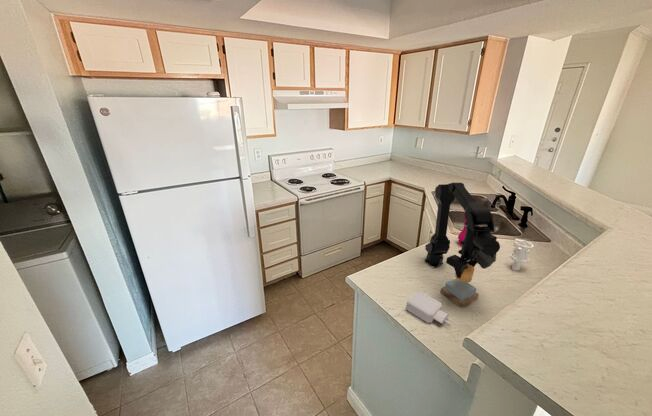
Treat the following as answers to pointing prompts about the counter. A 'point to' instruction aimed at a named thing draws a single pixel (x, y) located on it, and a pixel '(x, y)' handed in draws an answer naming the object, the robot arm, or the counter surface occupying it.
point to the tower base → (458, 301)
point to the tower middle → (460, 289)
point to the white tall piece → (520, 253)
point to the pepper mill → (462, 234)
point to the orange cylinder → (466, 274)
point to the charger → (426, 308)
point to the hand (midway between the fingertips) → (463, 275)
